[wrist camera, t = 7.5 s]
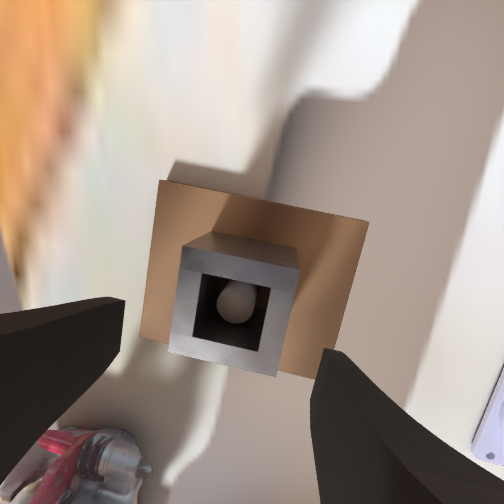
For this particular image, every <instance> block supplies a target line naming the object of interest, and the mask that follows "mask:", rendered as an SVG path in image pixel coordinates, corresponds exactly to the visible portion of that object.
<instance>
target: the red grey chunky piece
mask: <svg viewBox="0 0 504 504" xmlns="http://www.w3.org/2000/svg"><path fill="white" fill-rule="evenodd" d="M151 475H152V468H151V465H150V464H149V463H148V461H147V460H146V459H145V458H144V456H143V455H142V454H141V452H140V450H139V448H138V447H137V446H136V444H135V440H134V438H133V436H132V435H131V434H129V433H128V432H126V431H124V430H121V429H117V428H112V427H106V428H103V429H100V430H96V431H93V430H88V429H81V428H77V427H75V426H68V427H66V428H63V429H60V430H46V432H45V433H44V434H43V435H42V436H41V437H40V438H39V439H38V440H37V441H36V442H35V444H34V445H33V446H32V447H31V448H30V450H29V451H28V452H27V453H26V454H25V456H24V457H23V458H22V459H21V460H20V462H19V463H18V464H17V465H16V466H15V467H14V469H13V470H12V471H11V472H10V474H9V476H8V477H7V479H6V480H5V482H4V484H3V486H2V487H1V488H0V500H1V501H2V502H3V503H9V502H11V501H12V500H13V499H14V497H15V496H16V495H17V493H19V492H20V491H21V490H22V491H21V494H20V498H19V501H18V504H137V495H138V491H139V489H140V487H141V485H142V483H143V478H147V477H150V476H151Z"/></svg>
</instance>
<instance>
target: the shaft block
mask: <svg viewBox="0 0 504 504" xmlns="http://www.w3.org/2000/svg"><path fill="white" fill-rule="evenodd" d="M368 225H369V222H367V221H363V220H358V219H353V218H349V217H344V216H338V215H334V214H329V213H324V212H319V211H313V210H309V209H304V208H299V207H294V206H289V205H284V204H280V203H274V202H270V201H265V200H260V199H255V198H250V197H245V196H240V195H235V194H230V193H226V192H221V191H216V190H211V189H206V188H201V187H196V186H191V185H186V184H181V183H176V182H171V181H166V180H159V185H158V193H157V201H156V209H155V217H154V225H153V233H152V241H151V248H150V256H149V264H148V272H147V280H146V288H145V296H144V304H143V312H142V320H141V327H140V335H139V337H141V338H146V339H150V340H154V341H158V342H162V343H166V344H169V339H170V332H171V325H172V317H173V310H174V303H175V296H176V288H177V281H178V274H179V267H180V260H181V252H182V245H184V244H186V243H188V242H190V241H192V240H194V239H196V238H198V237H200V236H202V235H204V234H206V233H208V232H210V231H214V232H219V233H224V234H229V235H234V236H239V237H244V238H249V239H254V240H259V241H264V242H269V243H274V244H279V245H284V246H289V247H294V248H297V254H298V260H299V265H300V274H299V278H298V282H297V287H296V291H295V296H294V300H293V304H292V309H291V313H290V318H289V322H288V327H287V331H286V335H285V340H284V344H283V349H282V353H281V357H280V362H279V366H278V371H282V372H286V373H290V374H294V375H298V376H302V377H307V378H311V379H316V376H317V372H318V368H319V365H320V361H321V357H322V353H323V350H324V348H328V349H332V350H334V347H335V344H336V340H337V337H338V333H339V329H340V326H341V322H342V318H343V315H344V311H345V308H346V304H347V301H348V297H349V293H350V290H351V286H352V283H353V279H354V276H355V272H356V268H357V265H358V261H359V257H360V254H361V250H362V247H363V243H364V240H365V236H366V232H367V229H368ZM269 291H270V287H265V286H261V285H256V284H251V283H247V282H242V281H237V280H233V279H228V278H223V277H221V279H220V285H219V291H218V297H217V299H218V300H217V310H218V312H219V314H220V316H221V317H222V318H223V319H225V320H226V321H228V322H231V323H242V322H244V321H246V320H248V319H249V318H250V316H251V315H252V313H253V310H254V307H258V308H263V309H266V306H267V301H268V296H269Z"/></svg>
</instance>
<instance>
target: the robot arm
mask: <svg viewBox="0 0 504 504" xmlns="http://www.w3.org/2000/svg"><path fill="white" fill-rule="evenodd" d="M124 309H125V300H121V299H117V298H112V297H100V298H93V299H87V300H81V301H76V302H70V303H65V304H60V305H54V306H49V307H43V308H37V309H31V310H24V311H19V312H12V313H4V314H0V485H1V484H2V482H3V481H4V480H5V479H6V477H7V476H8V475H9V474H10V472H11V471H12V470H13V469H14V467H15V466H16V465H17V464H18V463H19V462H20V460H21V459H22V458H23V457H24V456H25V454H26V453H27V452H28V451H29V450H30V448H31V447H32V446H33V445H34V444H35V442H36V441H37V440H38V439H39V438H40V437H41V436H42V435H43V434H44V433H45V432H46V430H47V429H48V428H49V427H50V426H51V425H52V424H53V423H54V422H55V421H56V420H57V419H58V418H59V417H60V416H61V415H62V414H63V413H64V412H65V411H66V410H67V409H68V408H69V407H70V406H71V405H72V404H73V403H74V402H75V401H76V400H77V399H78V398H79V397H80V396H81V395H82V394H84V393H85V392H86V391H87V389H88V388H89V387H90V386H91V385H92V384H93V383H94V382H95V381H96V380H97V379H98V378H99V377H100V376H101V375H102V374H103V373H104V372H105V370H106V369H107V368H108V367H109V365H110V364H111V363H112V361H113V360H114V359H115V357H116V356H117V355H118V353H119V352H120V344H121V336H122V327H123V318H124ZM310 429H311V437H312V444H313V451H314V459H315V466H316V473H317V480H318V487H319V494H320V502H321V504H504V481H503V480H502V479H500V478H498V477H497V476H495V475H493V474H492V473H490V472H489V471H487V470H485V469H484V468H482V467H481V466H479V465H477V464H476V463H474V462H473V461H471V460H470V459H468V458H467V457H465V456H464V455H462V454H461V453H459V452H458V451H456V450H455V449H453V448H452V447H450V446H449V445H448V444H446V443H445V442H443V441H442V440H441V439H439V438H438V437H437V436H435V435H434V434H433V433H431V432H430V431H429V430H427V429H426V428H425V427H424V426H422V425H421V424H420V423H418V422H417V421H416V420H414V419H413V418H412V417H411V416H410V415H408V414H407V413H406V412H405V411H404V410H403V409H401V408H400V407H399V406H398V405H397V404H396V403H395V402H394V401H392V400H391V399H390V398H389V397H388V396H387V395H386V394H385V393H384V392H383V391H381V390H380V389H379V388H378V387H377V386H376V385H375V384H374V383H373V382H372V381H371V380H370V379H369V378H368V377H367V376H366V375H365V374H364V373H363V372H362V371H361V370H360V369H359V368H358V367H357V366H356V365H355V364H354V362H352V361H351V359H350V358H348V357H347V356H346V355H345V354H344V353H343V352H340V351H336V350H332V349H328V348H324V350H323V353H322V357H321V361H320V365H319V368H318V372H317V376H316V379H315V383H314V387H313V391H312V394H311V398H310ZM470 450H471V453H472V454H473V456H474V457H475V458H476V459H479V460H482V461H486V462H490V463H494V464H498V465H502V466H504V368H503V371H502V373H501V376H500V378H499V380H498V383H497V385H496V388H495V390H494V393H493V395H492V397H491V400H490V402H489V405H488V407H487V409H486V412H485V414H484V417H483V419H482V421H481V424H480V426H479V429H478V431H477V433H476V436H475V438H474V441H473V443H472V445H471V449H470ZM489 452H490V453H489ZM487 453H489V454H487Z"/></svg>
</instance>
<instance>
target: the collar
mask: <svg viewBox="0 0 504 504" xmlns="http://www.w3.org/2000/svg"><path fill="white" fill-rule="evenodd" d="M299 274H300V265H299V260H298V254H297V248H294V247H289V246H284V245H279V244H274V243H269V242H264V241H259V240H254V239H249V238H244V237H239V236H234V235H229V234H224V233H219V232H214V231H210V232H208V233H206V234H204V235H202V236H200V237H198V238H196V239H194V240H192V241H190V242H188V243H186V244H184V245H182V252H181V260H180V267H179V274H178V281H177V288H176V296H175V303H174V310H173V317H172V325H171V332H170V339H169V346H168V352H170V353H174V354H179V355H183V356H187V357H192V358H196V359H200V360H204V361H209V362H213V363H217V364H221V365H226V366H230V367H234V368H239V369H243V370H247V371H251V372H256V373H260V374H265V375H269V376H273V377H276V375H277V371H278V366H279V362H280V357H281V353H282V349H283V344H284V340H285V335H286V331H287V327H288V322H289V318H290V313H291V309H292V304H293V300H294V296H295V291H296V287H297V282H298V278H299ZM221 277H223V278H228V279H233V280H237V281H242V282H247V283H251V284H256V285H261V286H265V287H270V291H269V296H268V301H267V306H266V309H263V308H258V307H254V310H253V313H252V315H251V316H250V318H249V319H248V320H246V321H244V322H242V323H231V322H228V321H226V320H225V319H223V318H222V317H221V316H220V314H219V312H218V310H217V300H218V299H217V297H218V291H219V285H220V279H221Z"/></svg>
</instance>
